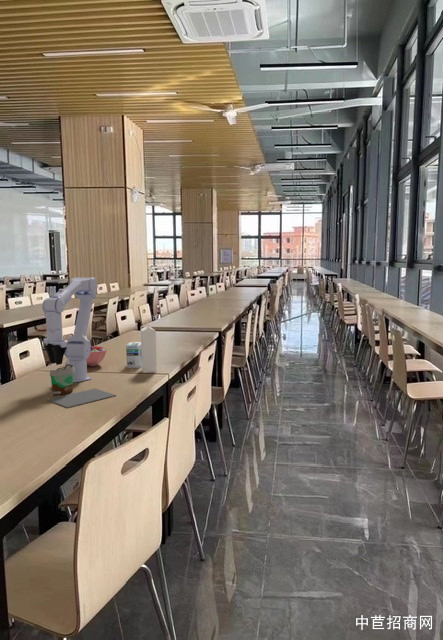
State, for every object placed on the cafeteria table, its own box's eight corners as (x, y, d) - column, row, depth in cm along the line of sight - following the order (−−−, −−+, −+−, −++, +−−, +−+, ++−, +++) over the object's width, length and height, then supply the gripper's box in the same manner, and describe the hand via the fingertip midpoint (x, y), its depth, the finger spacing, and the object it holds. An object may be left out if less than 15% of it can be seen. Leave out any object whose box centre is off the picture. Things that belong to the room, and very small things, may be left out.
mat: (47, 400, 177) (47, 399, 177) (95, 389, 192) (95, 388, 192) (67, 408, 168) (67, 407, 168) (116, 396, 182) (116, 394, 182)
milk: (143, 373, 219) (141, 324, 216) (141, 370, 225) (140, 322, 222) (157, 372, 221) (155, 323, 218) (154, 369, 226) (153, 321, 224)
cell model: (96, 371, 223) (95, 346, 222) (58, 368, 229) (57, 344, 228) (114, 363, 239) (113, 340, 238) (78, 361, 245) (77, 339, 244)
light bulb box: (140, 368, 229) (140, 345, 228) (126, 368, 229) (125, 345, 228) (144, 363, 240) (143, 341, 238) (130, 363, 240) (130, 341, 238)
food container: (65, 397, 181) (64, 371, 179) (50, 396, 182) (49, 370, 181) (81, 389, 193) (80, 364, 191) (67, 388, 194) (66, 363, 193)
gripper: (35, 328, 191) (37, 362, 193) (54, 332, 181) (56, 367, 183) (52, 326, 196) (54, 359, 198) (71, 329, 186) (73, 364, 188)
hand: (56, 363), depth 191 cm, fingers open, 4 cm apart
